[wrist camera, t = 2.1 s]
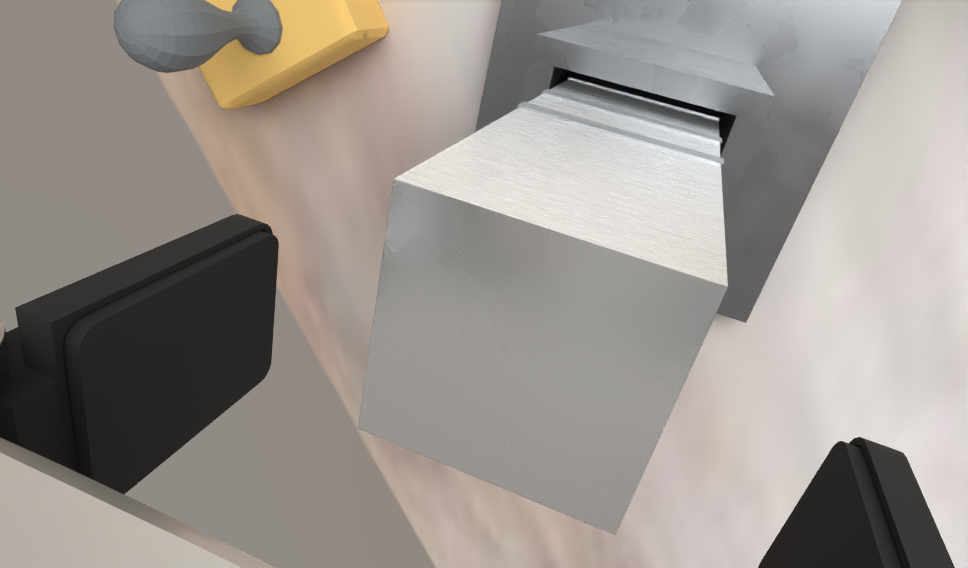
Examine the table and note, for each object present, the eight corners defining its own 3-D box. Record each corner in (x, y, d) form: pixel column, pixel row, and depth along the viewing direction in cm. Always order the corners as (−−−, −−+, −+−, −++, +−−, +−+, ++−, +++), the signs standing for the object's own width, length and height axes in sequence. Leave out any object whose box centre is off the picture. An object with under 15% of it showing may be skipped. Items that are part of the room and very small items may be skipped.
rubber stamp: (262, 103, 38) (93, 143, 27) (214, 8, 36) (15, 13, 26) (392, 33, 33) (250, 48, 23) (344, -78, 32) (168, -114, 22)
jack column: (605, 54, 28) (388, 170, 9) (719, 84, 27) (738, 283, 8) (574, 162, 31) (352, 429, 12) (677, 194, 30) (619, 541, 11)
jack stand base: (534, -100, 29) (435, -155, 18) (898, -20, 26) (1026, -32, 15) (468, 215, 36) (371, 302, 26) (744, 305, 33) (758, 445, 23)
